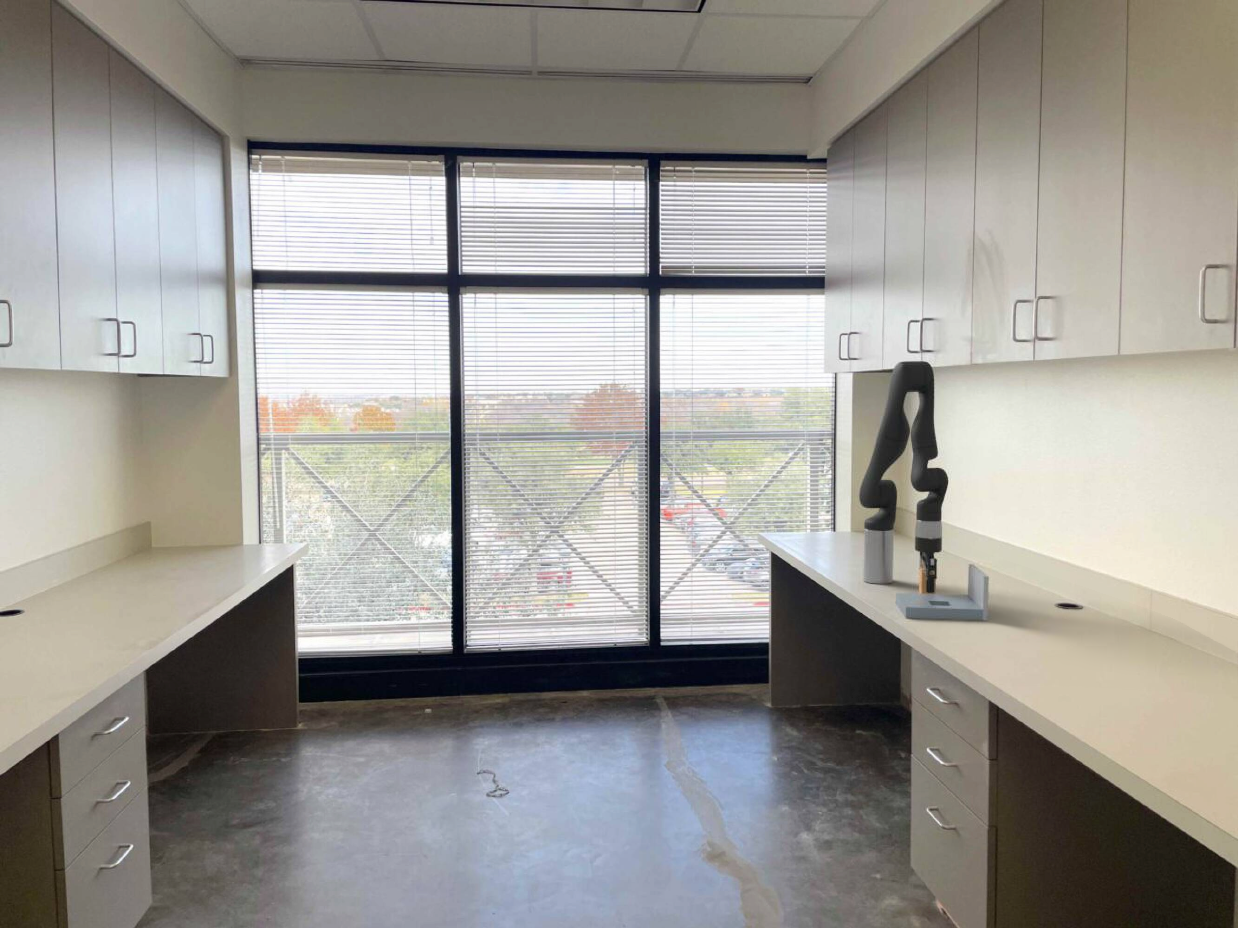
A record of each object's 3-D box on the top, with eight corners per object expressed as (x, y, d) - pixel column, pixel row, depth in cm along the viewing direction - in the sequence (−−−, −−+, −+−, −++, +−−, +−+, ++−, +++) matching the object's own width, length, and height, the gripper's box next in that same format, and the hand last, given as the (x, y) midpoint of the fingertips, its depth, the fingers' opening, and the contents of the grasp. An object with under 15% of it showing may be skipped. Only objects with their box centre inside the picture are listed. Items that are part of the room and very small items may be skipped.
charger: (918, 597, 274) (919, 567, 273) (932, 597, 274) (933, 567, 273) (921, 600, 270) (922, 569, 269) (935, 600, 270) (936, 569, 269)
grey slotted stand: (895, 603, 266) (896, 562, 266) (971, 605, 263) (973, 564, 262) (905, 617, 249) (906, 574, 248) (987, 620, 246) (988, 576, 245)
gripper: (911, 531, 278) (910, 584, 279) (919, 538, 264) (918, 594, 265) (937, 532, 277) (936, 585, 278) (946, 539, 263) (945, 595, 264)
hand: (927, 589), depth 271 cm, fingers open, 8 cm apart
